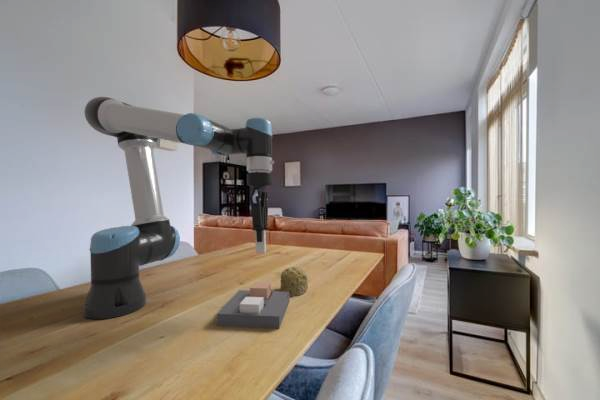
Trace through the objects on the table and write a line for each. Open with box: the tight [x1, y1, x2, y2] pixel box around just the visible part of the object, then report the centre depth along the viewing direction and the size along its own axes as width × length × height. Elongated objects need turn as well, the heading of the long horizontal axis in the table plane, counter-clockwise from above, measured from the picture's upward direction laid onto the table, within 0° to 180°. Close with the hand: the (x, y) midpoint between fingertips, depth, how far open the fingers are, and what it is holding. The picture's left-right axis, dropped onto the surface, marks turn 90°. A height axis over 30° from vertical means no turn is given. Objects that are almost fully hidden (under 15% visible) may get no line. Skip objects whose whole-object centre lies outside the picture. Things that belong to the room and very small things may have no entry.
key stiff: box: [249, 281, 272, 300], centre depth 79 cm, size 5×5×4 cm
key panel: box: [216, 289, 290, 329], centre depth 75 cm, size 16×17×3 cm
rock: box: [280, 266, 309, 297], centre depth 92 cm, size 10×11×10 cm
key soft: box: [240, 297, 264, 314], centre depth 70 cm, size 5×5×4 cm
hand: (260, 252), depth 79 cm, fingers closed
